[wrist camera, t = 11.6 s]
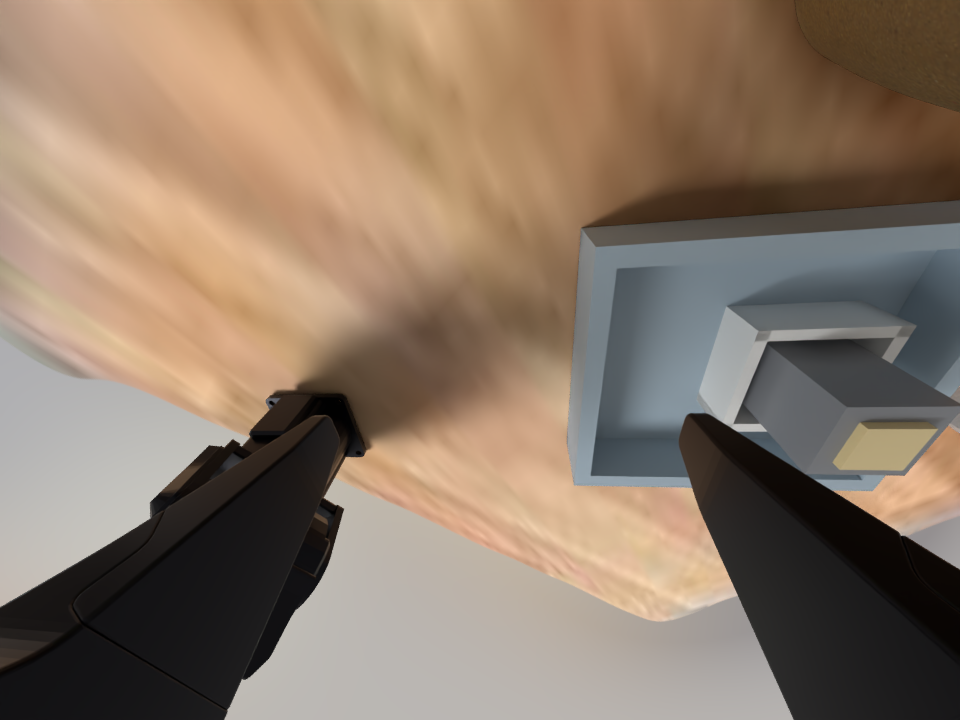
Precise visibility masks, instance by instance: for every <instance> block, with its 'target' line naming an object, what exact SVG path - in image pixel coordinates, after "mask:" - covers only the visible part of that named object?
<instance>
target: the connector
mask: <svg viewBox="0 0 960 720" xmlns="http://www.w3.org/2000/svg"><path fill="white" fill-rule="evenodd" d="M742 403H743V404H744V405H745V407H746V408H747V409H748V410H749V411H750V412H751V413H752V414H753V416H754V417H755V418H756V419H757V420H758V421H759V422H760V424H761V425H762V426H763V427H764V428H765V429H766V430H767V432H768V433H769V434H770V435H771V436H772V437H773V438H774V440H775V441H776V442H777V443H778V444H779V445H780V446H781V448H782V449H783V450H784V451H785V452H786V453H787V454H788V456H789V457H790V458H791V459H792V460H793V461H794V462H795V464H796V465H797V466H798V467H799V468H800V469H801V470H802V472H803V473H805V474H827V475H901V476H905V475H906V473H907V472H908V471H909V470H910V469H911V468H912V466H913V465H914V464H915V463H916V462H917V461H918V460H919V458H920V457H921V456H922V455H923V454H924V453H925V452H926V450H927V449H928V448H929V447H930V446H931V445H932V444H933V442H934V441H935V440H936V439H937V438H938V437H939V436H940V434H941V433H942V432H943V431H944V430H945V429H946V427H947V426H948V425H949V424H950V423H951V422H952V421H953V419H954V418H955V417H956V416H957V415H958V414H959V413H960V403H958V402H957V401H955V400H953V399H951V398H950V397H948V396H946V395H945V394H943V393H941V392H939V391H938V390H936V389H934V388H933V387H931V386H929V385H927V384H926V383H924V382H922V381H921V380H919V379H917V378H915V377H914V376H912V375H910V374H908V373H907V372H905V371H903V370H902V369H900V368H898V367H896V366H895V365H893V364H891V363H890V362H888V361H886V360H884V359H883V358H881V357H879V356H878V355H876V354H874V353H872V352H871V351H869V350H867V349H866V348H864V347H862V346H860V345H859V344H857V343H855V342H854V341H852V340H850V339H829V340H796V341H767V344H766V346H765V349H764V351H763V353H762V356H761V358H760V361H759V363H758V365H757V368H756V370H755V373H754V375H753V377H752V380H751V382H750V385H749V387H748V389H747V392H746V394H745V397H744V399H743V402H742Z"/></svg>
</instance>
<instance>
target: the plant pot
mask: <svg viewBox="0 0 960 720" xmlns="http://www.w3.org/2000/svg"><path fill="white" fill-rule="evenodd" d="M795 7H796V13H797V18H798V21H799V25H800V28H801V30H802V32H803V34H804V35H805V37H806V39H807V40H808V42H809V43H810V45H811V46H812V47H813V48H814V49H815V50H816V51H817V52H818V53H820V54H821V55H823V56H824V57H826V58H827V59H829V60H831V61H832V62H834V63H836V64H838V65H840V66H842V67H844V68H845V69H847V70H849V71H851V72H853V73H855V74H857V75H858V76H860V77H862V78H865V79H867V80H869V81H872V82H874V83H876V84H879V85H881V86H883V87H886V88H888V89H890V90H893V91H896V92H898V93H901V94H904V95H906V96H909V97H912V98H915V99H918V100H921V101H924V102H928V103H931V104H934V105H938V106H941V107H944V108H947V109H951V110H954V111H958V112H960V0H795Z"/></svg>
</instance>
